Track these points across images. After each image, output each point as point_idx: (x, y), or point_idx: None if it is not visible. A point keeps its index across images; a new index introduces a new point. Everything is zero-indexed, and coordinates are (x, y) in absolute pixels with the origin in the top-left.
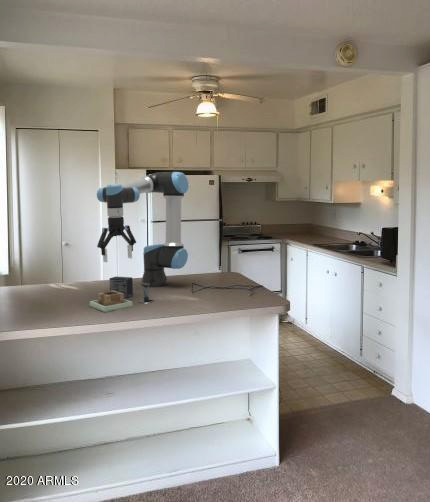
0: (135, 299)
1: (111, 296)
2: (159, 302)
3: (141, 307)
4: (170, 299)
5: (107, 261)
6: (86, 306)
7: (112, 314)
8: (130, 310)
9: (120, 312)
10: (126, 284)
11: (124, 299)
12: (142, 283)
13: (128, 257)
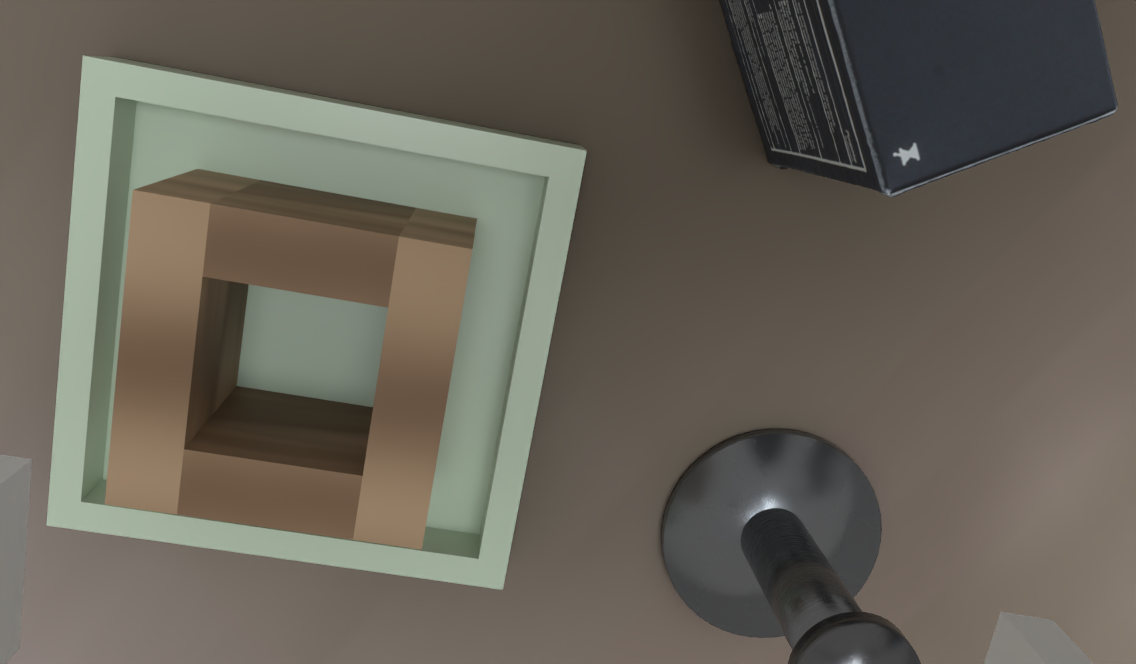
0: (827, 268)
1: (196, 511)
2: None
3: (556, 654)
4: (1078, 632)
5: (4, 662)
6: (78, 14)
7: (92, 640)
8: (368, 660)
9: (221, 641)
10: (843, 175)
11: (528, 397)
12: (825, 641)
13: (1000, 652)
